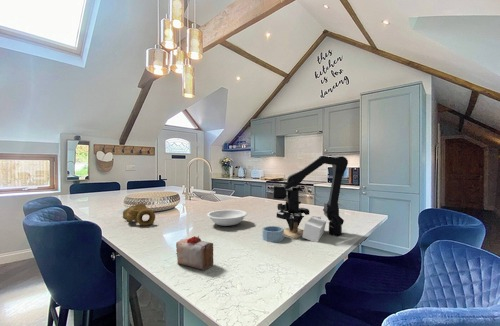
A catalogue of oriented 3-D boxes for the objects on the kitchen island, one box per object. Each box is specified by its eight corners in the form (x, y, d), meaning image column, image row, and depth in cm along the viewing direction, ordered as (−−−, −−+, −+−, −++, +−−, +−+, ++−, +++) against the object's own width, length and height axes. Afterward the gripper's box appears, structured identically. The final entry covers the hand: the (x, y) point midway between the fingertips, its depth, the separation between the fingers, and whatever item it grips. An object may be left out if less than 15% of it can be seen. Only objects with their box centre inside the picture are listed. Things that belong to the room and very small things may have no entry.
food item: (172, 264, 81) (172, 237, 81) (188, 256, 88) (187, 231, 88) (202, 272, 75) (202, 243, 75) (216, 263, 82) (216, 236, 82)
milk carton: (317, 243, 101) (324, 231, 118) (320, 228, 100) (327, 219, 117) (301, 237, 104) (311, 227, 121) (305, 223, 104) (314, 214, 120)
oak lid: (293, 227, 124) (293, 217, 124) (312, 233, 113) (311, 222, 113) (275, 232, 116) (275, 221, 116) (294, 238, 106) (294, 227, 106)
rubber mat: (293, 227, 126) (293, 226, 126) (316, 234, 113) (316, 233, 113) (271, 233, 117) (271, 232, 117) (294, 241, 104) (294, 240, 104)
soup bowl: (202, 222, 140) (202, 211, 140) (238, 218, 150) (238, 208, 150) (213, 232, 118) (213, 220, 118) (254, 227, 128) (254, 215, 128)
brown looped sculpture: (156, 206, 156) (159, 206, 136) (150, 225, 152) (152, 227, 133) (127, 199, 149) (126, 198, 129) (120, 219, 145) (118, 221, 126)
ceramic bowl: (273, 234, 114) (273, 225, 114) (287, 240, 106) (287, 229, 106) (258, 238, 108) (258, 228, 108) (272, 244, 100) (271, 233, 100)
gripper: (294, 196, 127) (294, 223, 127) (269, 199, 116) (269, 229, 116) (310, 198, 118) (310, 228, 118) (284, 202, 107) (284, 235, 107)
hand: (293, 230), depth 115 cm, fingers closed on oak lid, 3 cm apart
